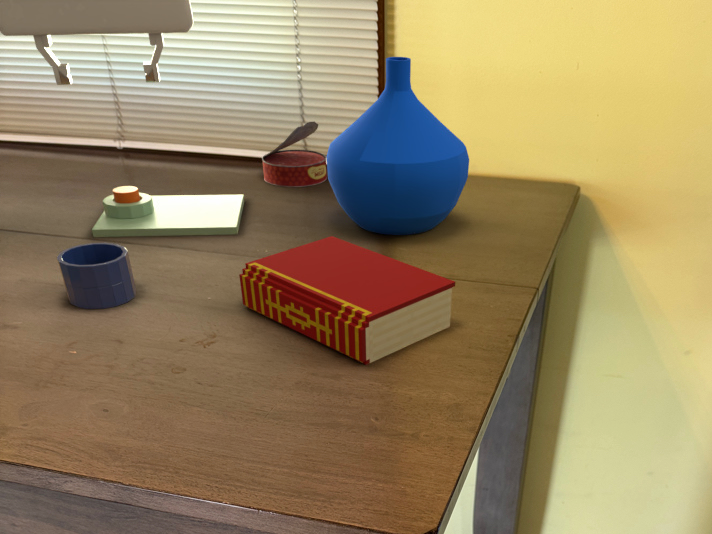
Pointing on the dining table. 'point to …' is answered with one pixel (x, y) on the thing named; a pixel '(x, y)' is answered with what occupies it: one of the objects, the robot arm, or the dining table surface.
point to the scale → (171, 216)
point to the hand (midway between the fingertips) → (109, 82)
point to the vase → (397, 162)
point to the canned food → (295, 162)
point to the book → (348, 297)
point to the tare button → (126, 194)
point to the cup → (97, 275)
